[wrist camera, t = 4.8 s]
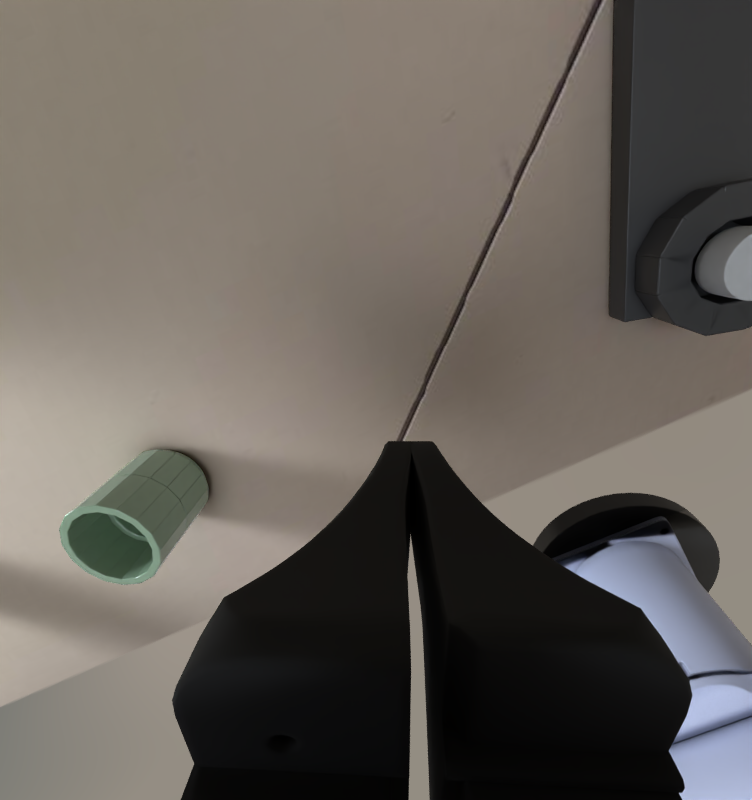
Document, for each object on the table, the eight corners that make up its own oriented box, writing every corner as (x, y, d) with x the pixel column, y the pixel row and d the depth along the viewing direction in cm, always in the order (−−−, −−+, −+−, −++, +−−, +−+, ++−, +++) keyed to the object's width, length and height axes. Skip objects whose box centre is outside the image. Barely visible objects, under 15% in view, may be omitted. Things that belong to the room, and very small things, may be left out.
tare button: (760, 287, 15) (798, 293, 13) (690, 300, 15) (720, 307, 14) (771, 219, 14) (813, 217, 12) (697, 234, 14) (729, 234, 13)
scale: (751, 304, 18) (816, 317, 15) (608, 329, 18) (644, 347, 16) (816, -127, 12) (933, -228, 10) (614, -63, 13) (668, -139, 11)
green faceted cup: (228, 491, 24) (180, 561, 19) (173, 523, 25) (115, 597, 20) (172, 431, 22) (104, 489, 17) (117, 468, 24) (38, 533, 19)
